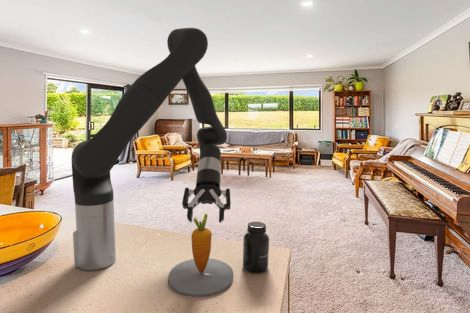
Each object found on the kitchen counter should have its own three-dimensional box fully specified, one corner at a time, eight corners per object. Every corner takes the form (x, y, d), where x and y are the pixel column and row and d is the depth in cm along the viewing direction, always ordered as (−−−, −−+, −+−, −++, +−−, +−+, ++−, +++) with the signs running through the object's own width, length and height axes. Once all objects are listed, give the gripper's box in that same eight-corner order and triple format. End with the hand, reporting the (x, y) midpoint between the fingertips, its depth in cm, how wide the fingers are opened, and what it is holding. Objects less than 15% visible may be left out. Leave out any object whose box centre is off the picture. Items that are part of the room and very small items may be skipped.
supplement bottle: (266, 275, 73) (268, 230, 72) (240, 272, 74) (241, 228, 73) (269, 262, 80) (270, 221, 78) (245, 260, 81) (245, 219, 80)
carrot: (193, 279, 69) (193, 219, 67) (190, 269, 74) (190, 212, 72) (213, 276, 70) (213, 217, 68) (209, 266, 75) (209, 211, 73)
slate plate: (161, 296, 64) (161, 292, 64) (175, 261, 80) (175, 257, 80) (233, 296, 64) (233, 292, 64) (233, 261, 80) (233, 258, 80)
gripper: (185, 167, 89) (178, 215, 79) (231, 168, 89) (230, 216, 79) (187, 180, 95) (182, 226, 85) (230, 181, 95) (230, 227, 85)
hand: (205, 221), depth 82 cm, fingers open, 8 cm apart
